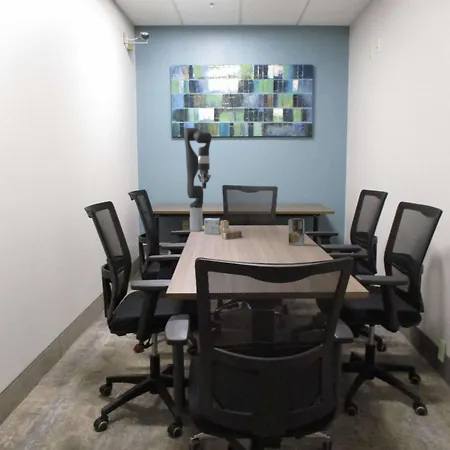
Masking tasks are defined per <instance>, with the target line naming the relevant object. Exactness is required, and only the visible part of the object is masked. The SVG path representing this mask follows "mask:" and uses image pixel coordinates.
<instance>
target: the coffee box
mask: <svg viewBox="0 0 450 450" xmlns="http://www.w3.org/2000/svg"><path fill="white" fill-rule="evenodd" d="M305 222H306V221H305V218H301V217H300V218H299V217H295V218H294V217H293V218H292V217H290V218H289V219H288V244H287V245H288V246H304V245H305Z"/></svg>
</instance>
